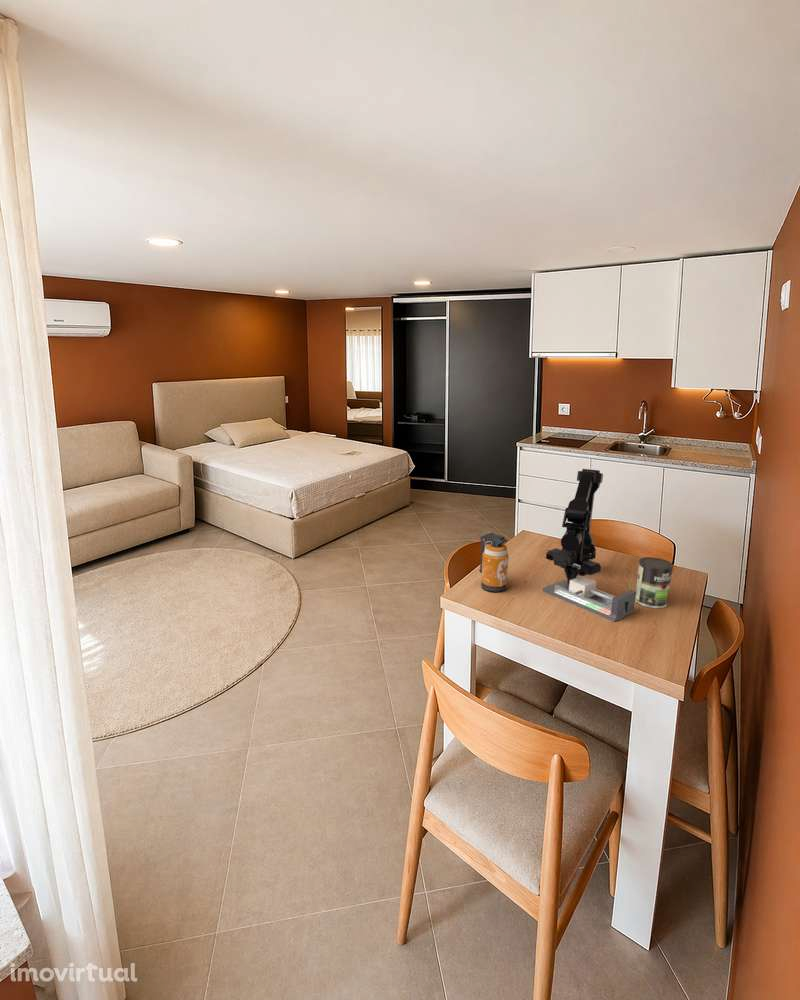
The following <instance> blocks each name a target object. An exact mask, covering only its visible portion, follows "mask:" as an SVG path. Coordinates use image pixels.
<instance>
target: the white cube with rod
mask: <svg viewBox="0 0 800 1000" xmlns="http://www.w3.org/2000/svg"><path fill="white" fill-rule="evenodd" d="M596 589H597V581H596V580H593V579H590V578H589V577H586V576H584V575H579V576H577V577H576V578H574V579H572V580H570V584H569V590H571V591H573V592H575V594H581V595H583V596H586V597H588V598H589V597H592V596H594V595H597V596H600V597H602V598H605V599H607V600H610V601H612V597H610V596H607V595H605V594H602V593H600V592H597V591H596Z"/></svg>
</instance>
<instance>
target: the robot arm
mask: <svg viewBox="0 0 800 1000" xmlns="http://www.w3.org/2000/svg"><path fill="white" fill-rule="evenodd" d="M576 475H577V476H576V477H577V478H576V481H578V485H577V488H576V492H575V496H574V498H573V499H571V500H570V501H569V502H568V505H567V507H565V510H564V515H563V519H562V524H561V527H562V528H566V531H565V532H564V534H563V536H562V537H561V538H560V545H561V547H562V548H561V549H560V548H557V547H556V548H553V549H550V550H548V551H546V553H545V558H546V559H547V560H550V561H553V565H554V566H556V567H557V566H558V567H560V568H561V569H563V570H564V573H565V576H566V581H568V583H569V584H570V580H572V579H574V578H577V577H579V576H585V575H588V576H593V575H595V574H598V573H600V572H601V570H602V565H601V563H600V562H596V561H593V560H595V559H596V556H597V551H596V547H595V543H594V537H593V535H592V534H591V533H592V532H591V527H592V526H591V525H592V516H593V509H594V501H595V494H596V492H597V491H598V490H599V488H601V487H600V486H601V484H602V483H603V479H604V474H603V472H602V473H601V470H599V469H598V470H597V469H590V468H582V470H578V471H577V474H576ZM578 575H579V576H578Z"/></svg>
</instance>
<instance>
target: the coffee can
mask: <svg viewBox="0 0 800 1000" xmlns="http://www.w3.org/2000/svg"><path fill="white" fill-rule="evenodd" d="M673 568H674V564H673V563H672V562H671V561H668V560H666V559H664V558H663V559H662V558H659V557H648V556H646V557H641V558H640V559H639V560H638V568H637V569H638V570H637V579H636V587H635V592H636V598H635V603H637V604H639V605H640V606H643V607H646V608H651V609H663V608H666V607H667V606H668V599H669V593H670V586H671V579H672V573H673Z"/></svg>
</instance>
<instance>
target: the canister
mask: <svg viewBox="0 0 800 1000" xmlns="http://www.w3.org/2000/svg"><path fill="white" fill-rule="evenodd" d="M479 538H480V543H481V545H480V564H479V565H480V567H479V569H478V571H479V573H480V575H481V578H480V579H481V583H480V587H481V588H483V590H486V591H489V592H496V593H497V592H502V591H505V590H506V589H507V587H508V573H509V572H508V571H509V556H510V555H509V553H508V547H507V545H506V544H504V543H506V542H508V539H507V538H506V537H505V536H503V535H498V534H495V533H494V532H493V531H491V532H490V533H486V534H484V535H482V536H480V537H479Z"/></svg>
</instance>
